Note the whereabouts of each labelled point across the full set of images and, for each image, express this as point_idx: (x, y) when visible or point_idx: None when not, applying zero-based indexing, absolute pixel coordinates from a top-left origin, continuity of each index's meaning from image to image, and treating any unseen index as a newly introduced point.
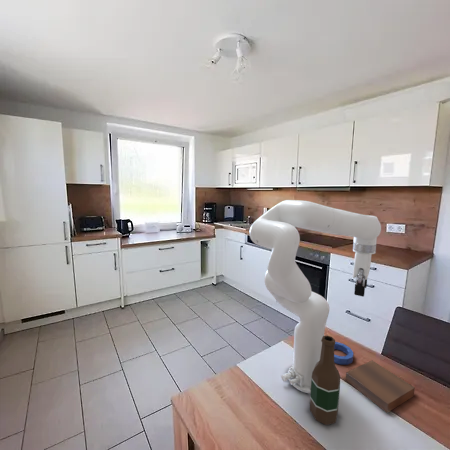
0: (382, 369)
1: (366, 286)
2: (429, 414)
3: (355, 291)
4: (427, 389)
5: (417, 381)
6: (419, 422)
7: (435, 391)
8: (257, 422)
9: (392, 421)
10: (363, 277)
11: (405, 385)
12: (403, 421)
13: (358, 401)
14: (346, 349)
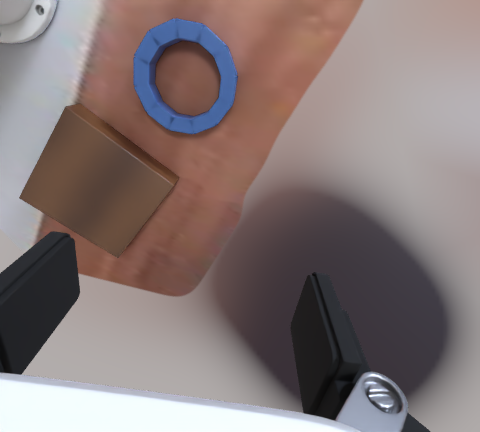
0: (144, 205)
1: (294, 338)
2: (89, 258)
3: (31, 255)
4: (164, 273)
5: (181, 262)
6: None
7: (166, 283)
8: None
9: None
10: (325, 407)
11: (112, 242)
12: (36, 214)
13: (24, 133)
14: (208, 111)
